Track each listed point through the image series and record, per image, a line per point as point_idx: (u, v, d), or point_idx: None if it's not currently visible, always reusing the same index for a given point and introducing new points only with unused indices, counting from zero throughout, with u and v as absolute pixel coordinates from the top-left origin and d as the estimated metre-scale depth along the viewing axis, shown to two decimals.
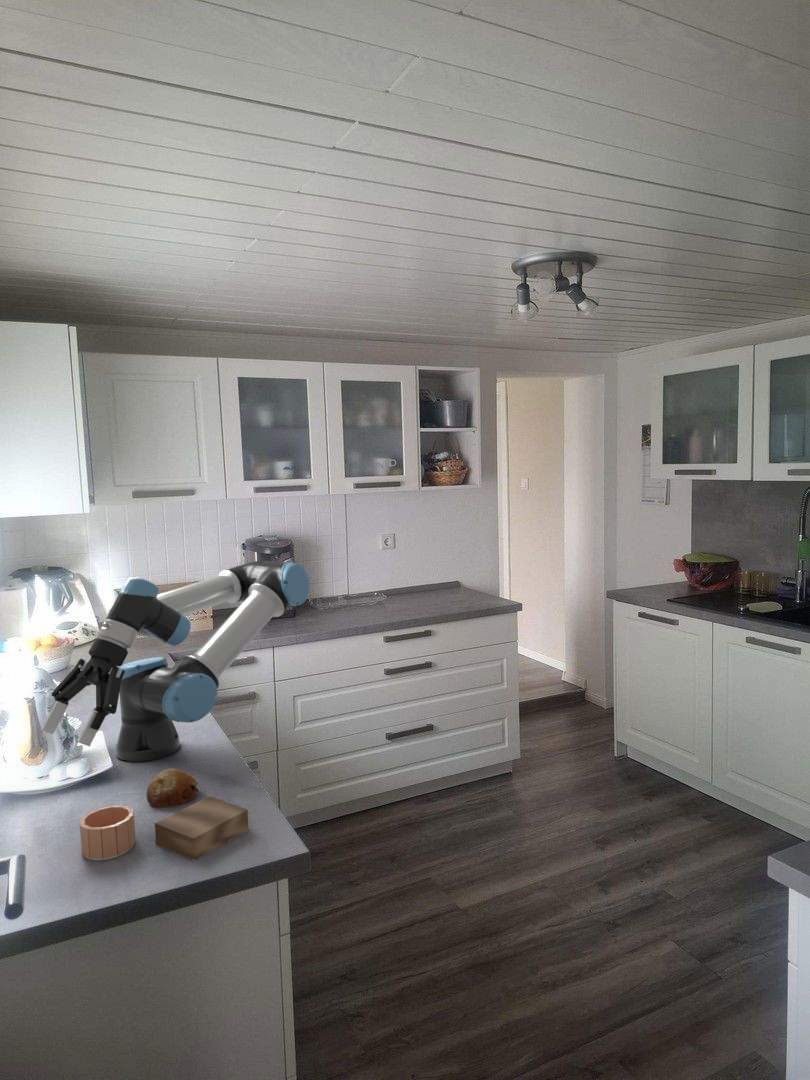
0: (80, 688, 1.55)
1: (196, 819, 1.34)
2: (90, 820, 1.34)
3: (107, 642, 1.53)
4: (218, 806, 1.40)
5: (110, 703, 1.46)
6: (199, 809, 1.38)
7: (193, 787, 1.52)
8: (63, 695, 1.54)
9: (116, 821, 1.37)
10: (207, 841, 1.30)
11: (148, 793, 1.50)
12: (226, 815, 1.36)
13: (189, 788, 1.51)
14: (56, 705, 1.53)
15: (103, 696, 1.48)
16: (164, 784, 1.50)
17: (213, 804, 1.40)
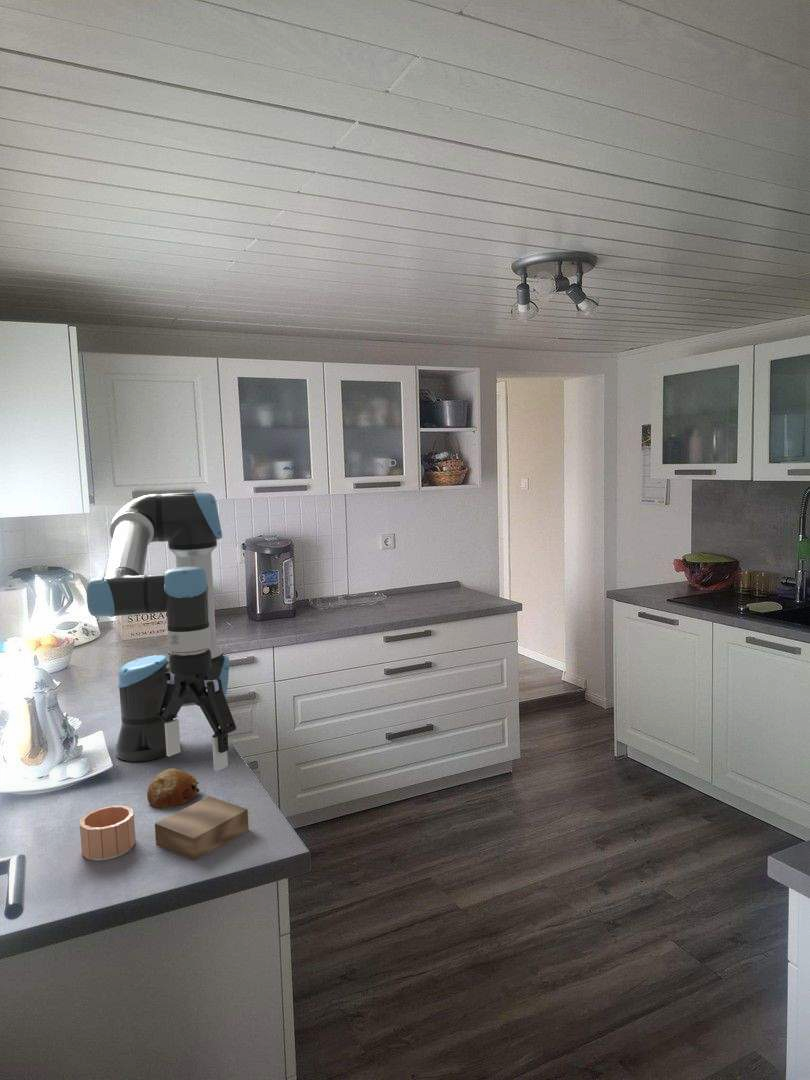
0: (182, 702, 1.37)
1: (196, 819, 1.34)
2: (90, 820, 1.34)
3: (185, 658, 1.29)
4: (218, 806, 1.40)
5: (226, 724, 1.28)
6: (199, 809, 1.38)
7: (194, 787, 1.52)
8: (169, 715, 1.37)
9: (116, 821, 1.37)
10: (208, 841, 1.30)
11: (149, 793, 1.50)
12: (226, 815, 1.36)
13: (189, 788, 1.51)
14: (168, 727, 1.37)
15: (214, 715, 1.30)
16: (165, 784, 1.50)
17: (213, 804, 1.40)
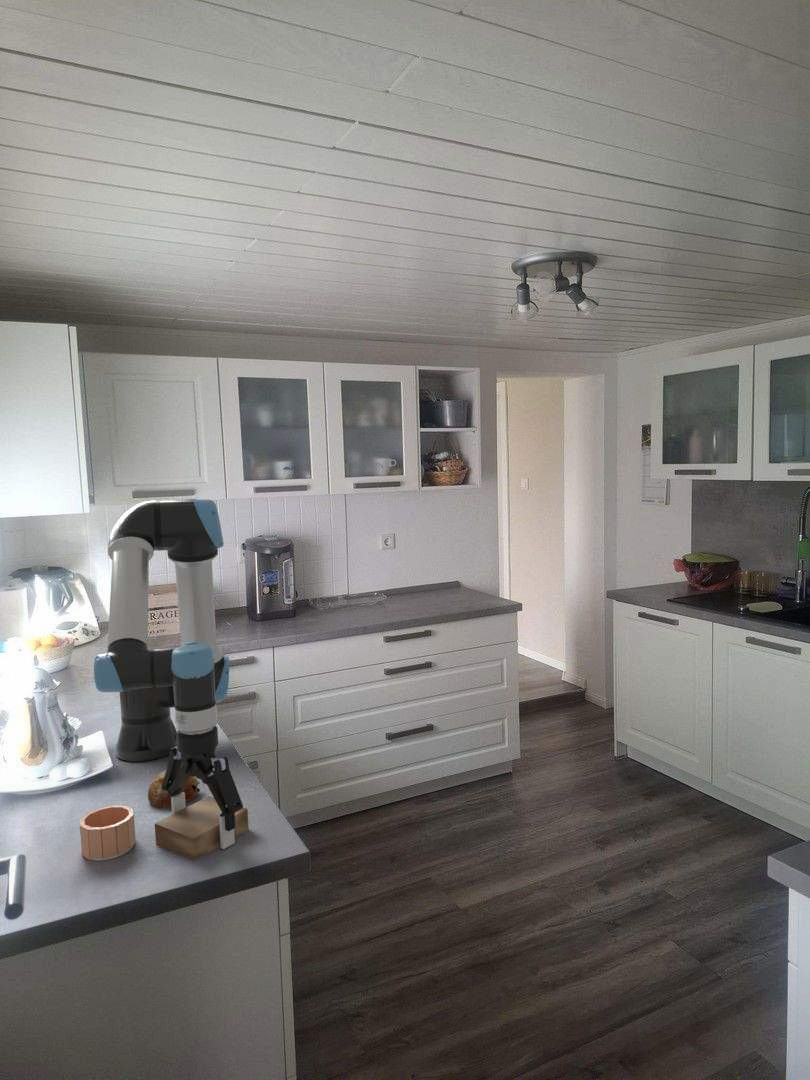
0: (188, 777, 1.38)
1: (196, 819, 1.34)
2: (90, 820, 1.34)
3: (192, 737, 1.30)
4: (218, 806, 1.40)
5: (233, 803, 1.29)
6: (199, 809, 1.38)
7: (194, 787, 1.52)
8: (175, 790, 1.38)
9: (116, 821, 1.37)
10: (208, 841, 1.30)
11: (149, 793, 1.50)
12: None
13: (190, 788, 1.51)
14: (174, 802, 1.38)
15: (221, 794, 1.31)
16: None
17: (213, 804, 1.40)
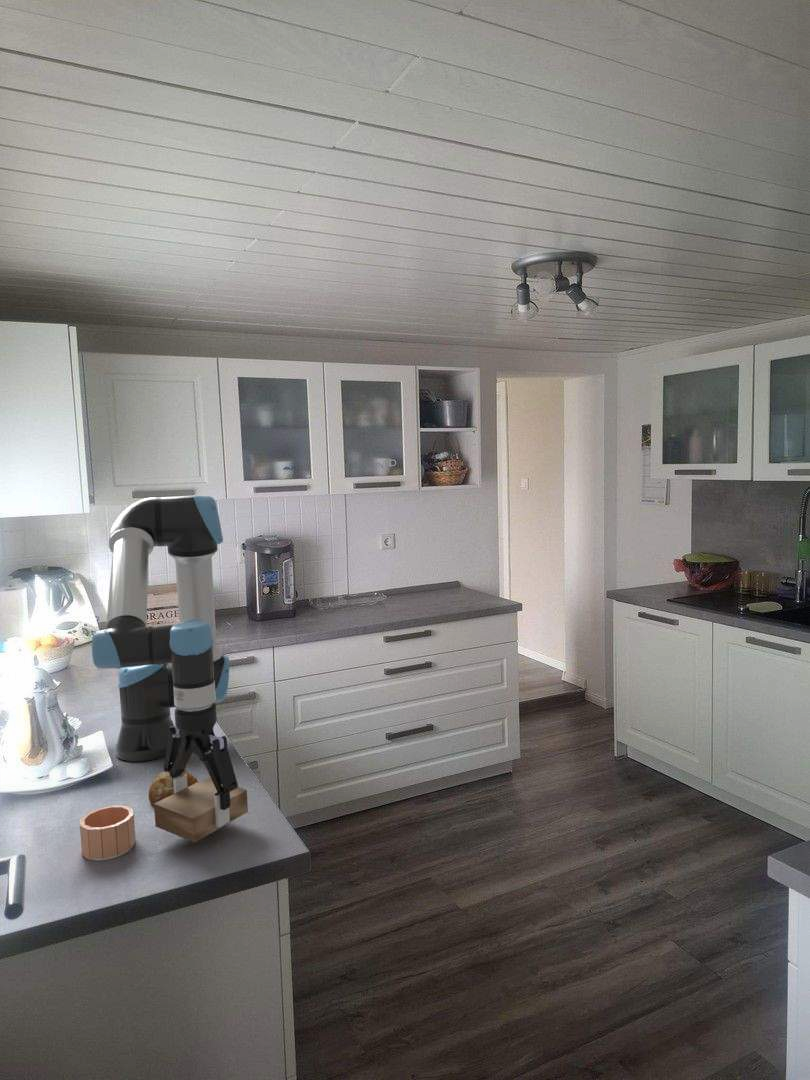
0: (189, 756, 1.38)
1: (195, 800, 1.34)
2: (90, 820, 1.34)
3: (191, 714, 1.30)
4: None
5: (229, 783, 1.30)
6: (198, 790, 1.38)
7: None
8: (177, 770, 1.38)
9: (116, 821, 1.37)
10: (207, 821, 1.30)
11: (150, 793, 1.50)
12: None
13: None
14: (176, 783, 1.38)
15: (217, 772, 1.32)
16: (166, 784, 1.50)
17: (212, 785, 1.40)
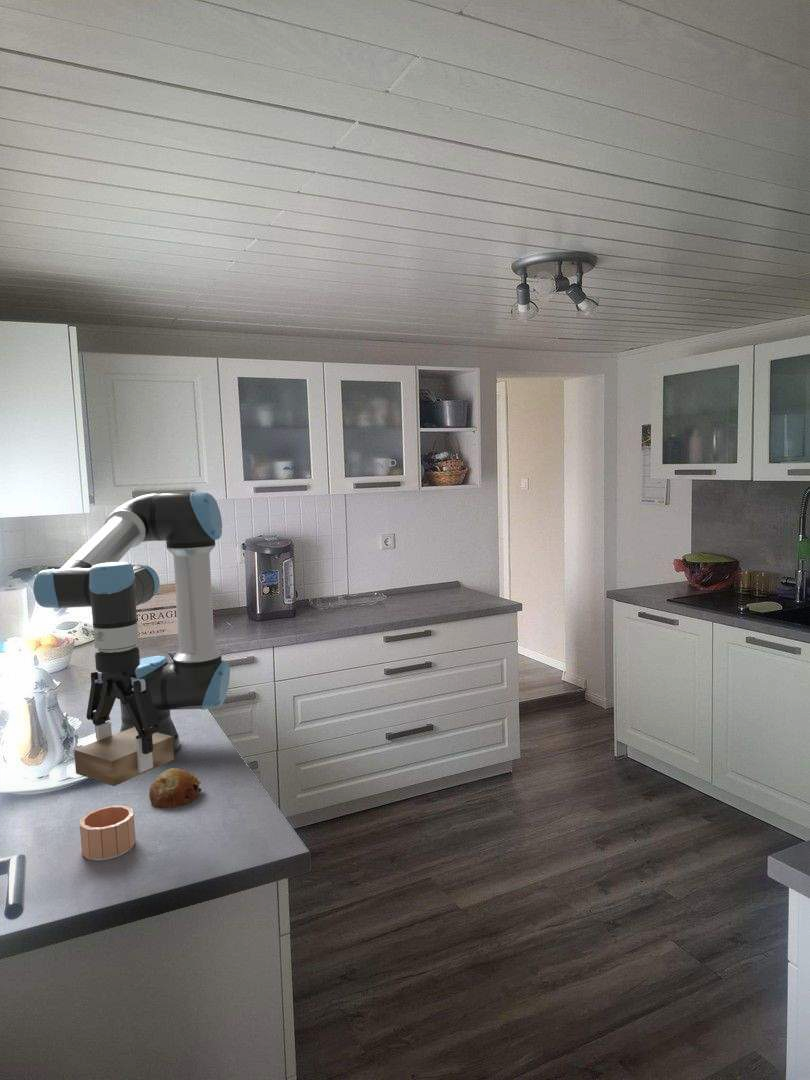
0: (112, 702, 1.34)
1: (118, 745, 1.31)
2: (90, 820, 1.34)
3: (111, 655, 1.27)
4: None
5: (150, 725, 1.26)
6: (122, 737, 1.35)
7: (196, 787, 1.52)
8: (99, 717, 1.34)
9: (116, 821, 1.37)
10: (128, 765, 1.26)
11: (151, 793, 1.50)
12: None
13: (191, 787, 1.51)
14: (99, 730, 1.34)
15: (139, 716, 1.28)
16: (167, 783, 1.50)
17: None
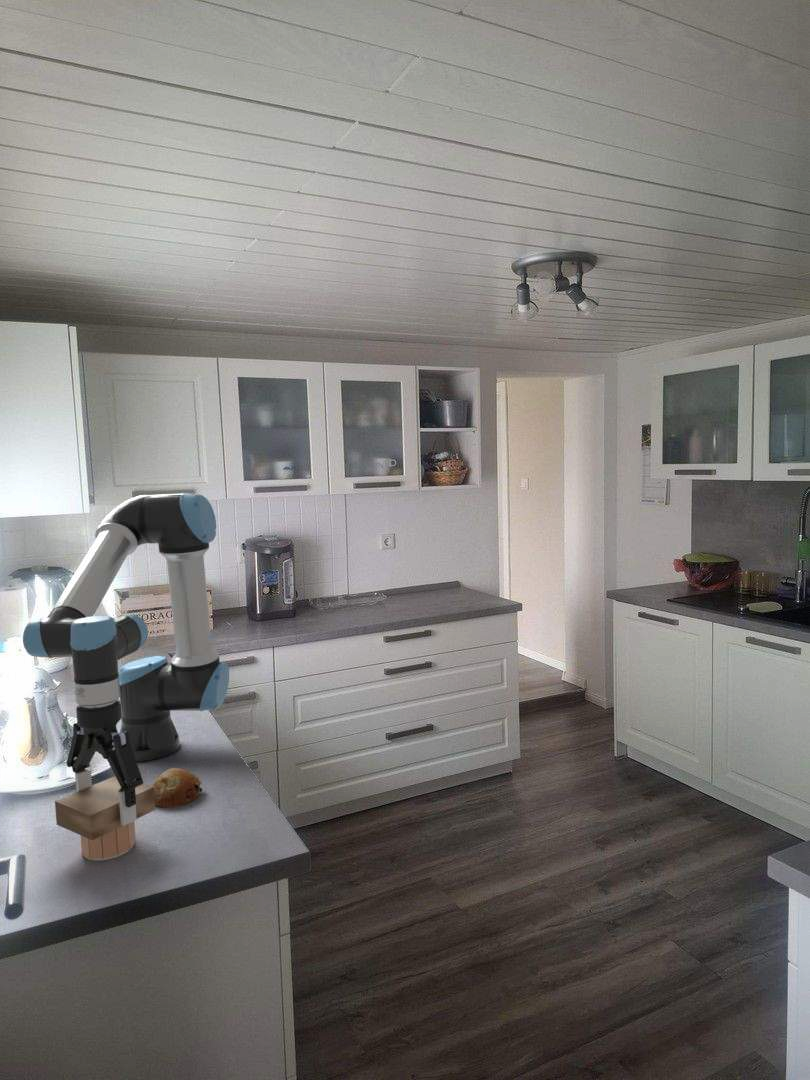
0: (92, 752, 1.34)
1: (98, 797, 1.31)
2: None
3: (91, 711, 1.27)
4: None
5: (132, 779, 1.26)
6: (104, 787, 1.35)
7: (197, 786, 1.52)
8: (79, 766, 1.34)
9: None
10: (107, 818, 1.26)
11: None
12: None
13: (192, 787, 1.51)
14: (78, 778, 1.35)
15: (121, 769, 1.28)
16: (168, 783, 1.50)
17: None
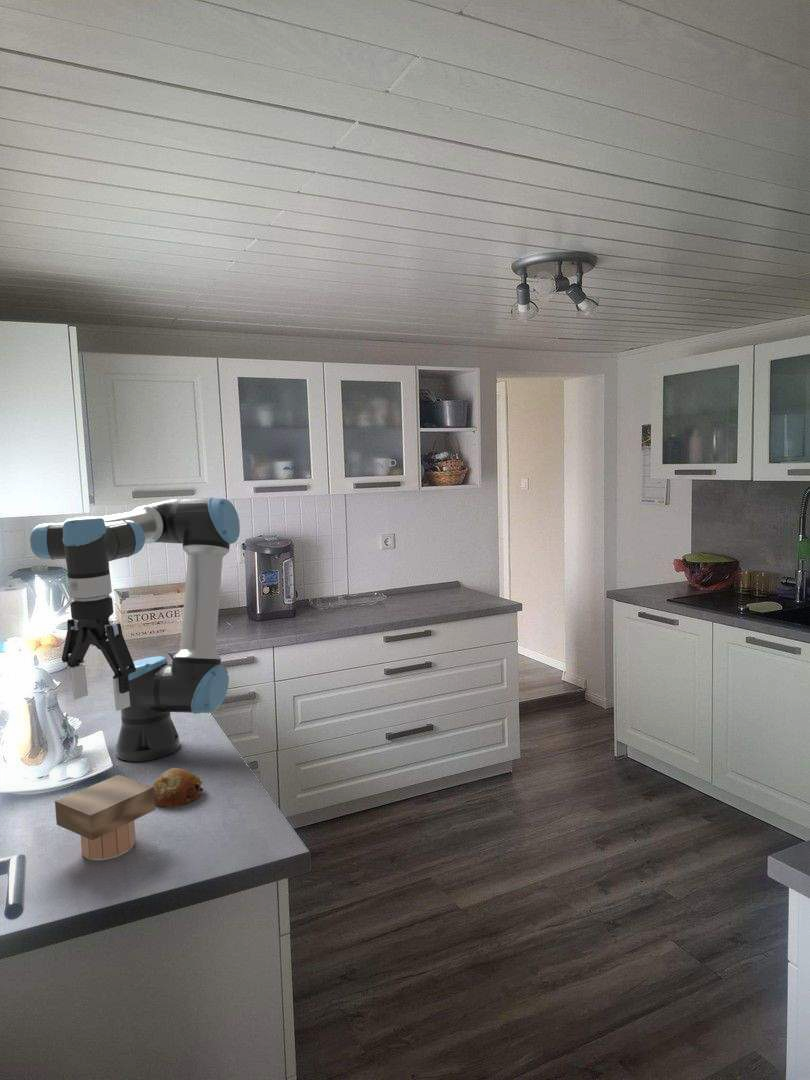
0: (86, 647, 1.42)
1: (98, 797, 1.31)
2: None
3: (84, 604, 1.34)
4: (124, 784, 1.36)
5: (125, 666, 1.34)
6: (104, 787, 1.35)
7: (197, 786, 1.52)
8: (74, 660, 1.42)
9: None
10: (107, 818, 1.26)
11: None
12: (130, 793, 1.32)
13: (193, 787, 1.51)
14: (73, 672, 1.43)
15: (114, 658, 1.36)
16: (169, 783, 1.50)
17: (120, 782, 1.37)
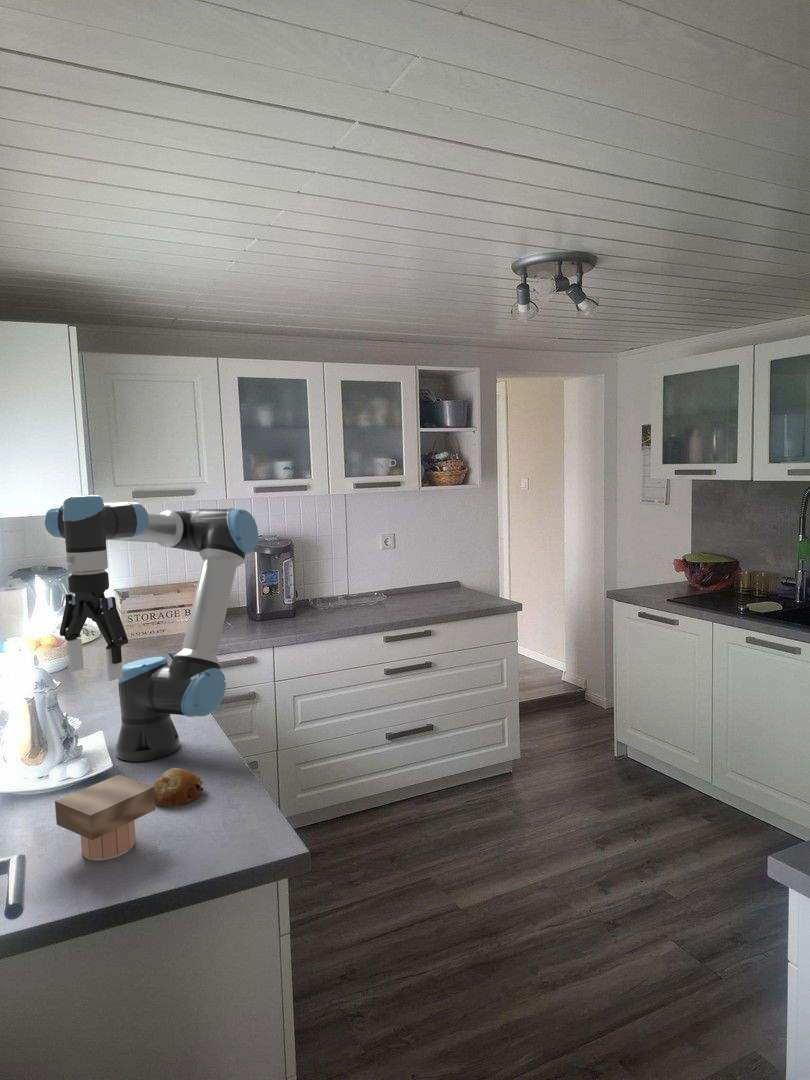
0: (83, 621, 1.48)
1: (98, 797, 1.31)
2: None
3: (81, 577, 1.41)
4: (124, 784, 1.36)
5: (118, 637, 1.39)
6: (104, 787, 1.35)
7: (198, 786, 1.52)
8: (71, 633, 1.48)
9: None
10: (107, 818, 1.26)
11: None
12: (130, 793, 1.32)
13: (193, 787, 1.51)
14: (70, 645, 1.48)
15: (108, 630, 1.41)
16: (169, 783, 1.50)
17: (120, 782, 1.37)
